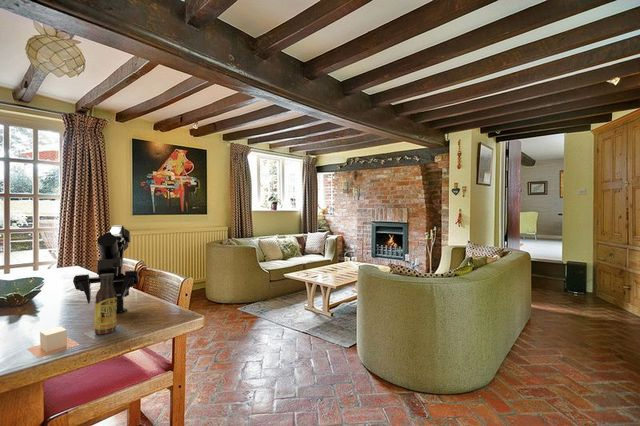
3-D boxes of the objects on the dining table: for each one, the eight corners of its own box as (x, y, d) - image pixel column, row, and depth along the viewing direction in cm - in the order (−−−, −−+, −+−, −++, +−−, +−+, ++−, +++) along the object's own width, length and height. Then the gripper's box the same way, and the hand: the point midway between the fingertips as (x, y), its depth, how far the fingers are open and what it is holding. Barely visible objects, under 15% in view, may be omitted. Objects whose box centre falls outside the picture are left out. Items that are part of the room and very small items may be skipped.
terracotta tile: (26, 350, 94) (26, 348, 94) (67, 338, 102) (67, 336, 102) (38, 360, 88) (38, 357, 88) (80, 346, 97) (80, 344, 97)
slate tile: (83, 335, 105) (83, 333, 105) (115, 325, 113) (115, 323, 113) (96, 342, 99) (96, 340, 99) (129, 331, 108) (129, 330, 108)
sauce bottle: (100, 336, 102) (100, 277, 102) (90, 333, 105) (89, 275, 104) (121, 329, 108) (120, 273, 107) (110, 326, 111) (110, 271, 110)
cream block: (40, 347, 94) (40, 331, 94) (60, 341, 98) (60, 326, 98) (46, 352, 92) (45, 335, 91) (67, 345, 96) (66, 329, 96)
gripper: (73, 251, 105) (65, 292, 95) (137, 248, 113) (135, 285, 104) (79, 270, 112) (72, 309, 102) (139, 265, 121) (137, 301, 111)
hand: (105, 301), depth 105 cm, fingers open, 9 cm apart
